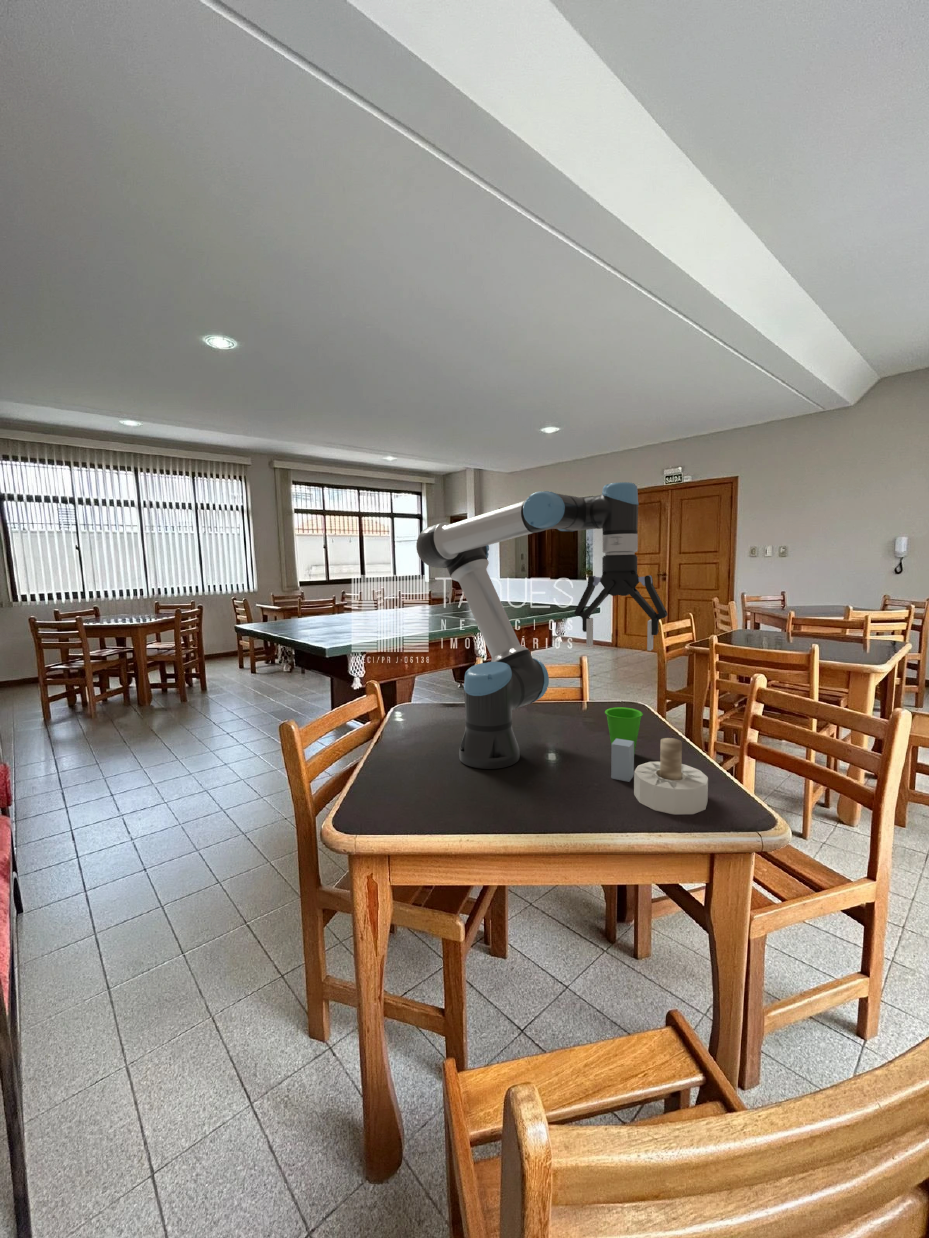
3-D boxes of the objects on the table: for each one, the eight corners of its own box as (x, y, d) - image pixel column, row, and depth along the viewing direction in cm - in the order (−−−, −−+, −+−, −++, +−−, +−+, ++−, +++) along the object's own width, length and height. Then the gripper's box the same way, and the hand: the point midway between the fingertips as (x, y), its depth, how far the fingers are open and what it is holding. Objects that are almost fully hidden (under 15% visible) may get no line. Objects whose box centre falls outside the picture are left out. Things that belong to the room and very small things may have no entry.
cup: (644, 763, 121) (645, 718, 120) (605, 760, 123) (606, 717, 121) (639, 749, 129) (640, 707, 128) (603, 747, 131) (603, 706, 130)
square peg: (611, 778, 113) (611, 743, 112) (615, 771, 116) (616, 738, 115) (629, 781, 111) (629, 746, 110) (633, 775, 114) (634, 741, 113)
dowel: (658, 800, 102) (658, 742, 101) (661, 792, 105) (662, 736, 104) (679, 804, 100) (680, 746, 99) (682, 796, 103) (683, 739, 102)
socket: (628, 804, 100) (628, 780, 100) (642, 778, 112) (643, 757, 111) (702, 820, 93) (703, 794, 93) (709, 791, 105) (710, 768, 104)
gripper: (560, 555, 116) (561, 646, 118) (676, 552, 103) (674, 654, 105) (571, 555, 122) (571, 642, 124) (682, 552, 109) (680, 648, 112)
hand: (619, 647), depth 115 cm, fingers open, 13 cm apart
